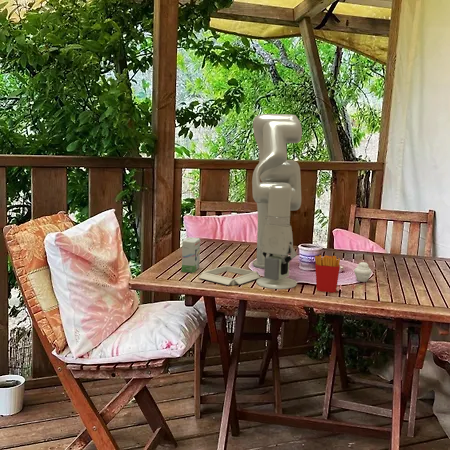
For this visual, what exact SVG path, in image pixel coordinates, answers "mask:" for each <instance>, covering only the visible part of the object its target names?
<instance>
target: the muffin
mask: <svg viewBox="0 0 450 450" xmlns="http://www.w3.org/2000/svg"><path fill="white" fill-rule="evenodd" d="M353 272H354V276H355V278H356V280H357V281H358V282H361V283H366V282H367V281H369V278H370V277H371V274H373V273H372V269H371V268H370V267H369V264H368V263H367V262H364V261H362V262H358V264H357V266H356V267H355V268H354V270H353Z"/></svg>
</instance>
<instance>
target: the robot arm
mask: <svg viewBox="0 0 450 450" xmlns="http://www.w3.org/2000/svg"><path fill="white" fill-rule="evenodd" d="M302 128H303V127H302V124H301V120H300V119H299V118H298V116H297V115H295V114H290V113H289V114H287V113H286V114H283V113H261V114H257V115H256V116H255V117H254V118H253V122H252V129H253V130H252V131H253V136H254V140H255V142H256V145H257V148H258V154H259V155H258V157H259V159H258V161H259V162H258V164H256V166H255V168H254V169H253V172H252V179H251V184H252V186H251V187H252V198H253V200H254V202H255V203H256V209H257V233H256V234H257V235H256V237H257V238H256V259H255V260H253V261H252V265H253V266H254V267H255V268H259V269H264V268H265V258H267V257H270V256H274V255H281V257H282V262H283V263H281V275H284V274H287V272H288V263H289V264H290V262H291V261H292V260H293V259H294V258H296V257H297V256H298V254H297V252H296V250H295V249H294V239H293V231H292V230H293V228H292V225H291V223H290V222H291V211H298V210H299V209H301V205H302V185H301V184H302V183H301V182H302V181H301V179H302V178H301V167H300V165H299V163H298V161H296V160H293V159H287V158H288V152H287V144H298V143H300V142H301V140H302V137H303V129H302Z"/></svg>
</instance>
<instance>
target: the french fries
mask: <svg viewBox="0 0 450 450" xmlns="http://www.w3.org/2000/svg"><path fill="white" fill-rule="evenodd" d="M314 261H315V264H314V265H315V282H316V283H315V284H316V285H315V286H316V291H318V292H322V293H337V287H338V282H339V275H340V274H339V273H340V268H341V265H340V263H341V258H340V257H338V258H337V256H336V255H326V254H325V255H324V256H322V255H321V254H319V255H314Z"/></svg>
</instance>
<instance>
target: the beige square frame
mask: <svg viewBox="0 0 450 450" xmlns="http://www.w3.org/2000/svg"><path fill="white" fill-rule="evenodd" d="M225 272H230V273H232V274H238V275H240V276H237V277H234V278H230V277H226V276H223V275H218V274H222V273H225ZM197 278H198V279H201V280H206V281H210V282H214V283H216V284H217V283H218V284H222V285H226V286H235V285H238V286H240V285H242V284H245V283H249V282H252V281H254V280H258V279H259V278H261V276H260V273H258V271H255V270H250V269H245V268H240V267H236V266H231V265H228V264H227V265H226V264H225V265H222V266H220V267H215V268H213V269H209V270H205V271H203V272H202V271H201V273H199V274H198V277H197Z"/></svg>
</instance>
